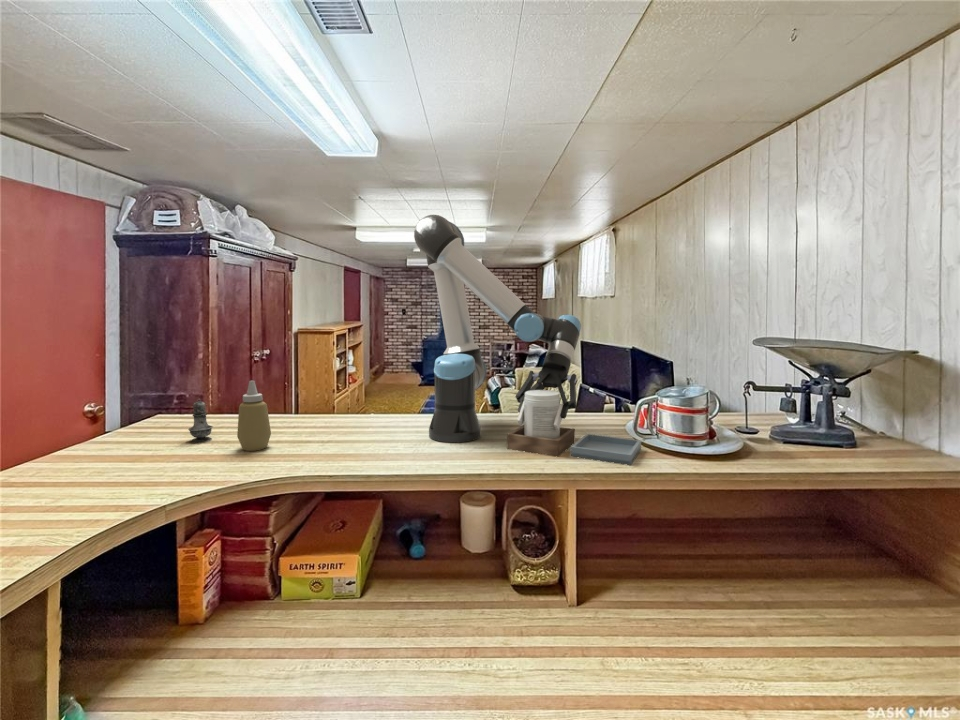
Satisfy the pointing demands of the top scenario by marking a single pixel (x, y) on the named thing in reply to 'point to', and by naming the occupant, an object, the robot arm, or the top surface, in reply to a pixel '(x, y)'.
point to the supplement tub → (541, 413)
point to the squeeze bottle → (253, 421)
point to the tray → (606, 448)
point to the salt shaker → (200, 424)
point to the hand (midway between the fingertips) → (537, 425)
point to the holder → (540, 442)
